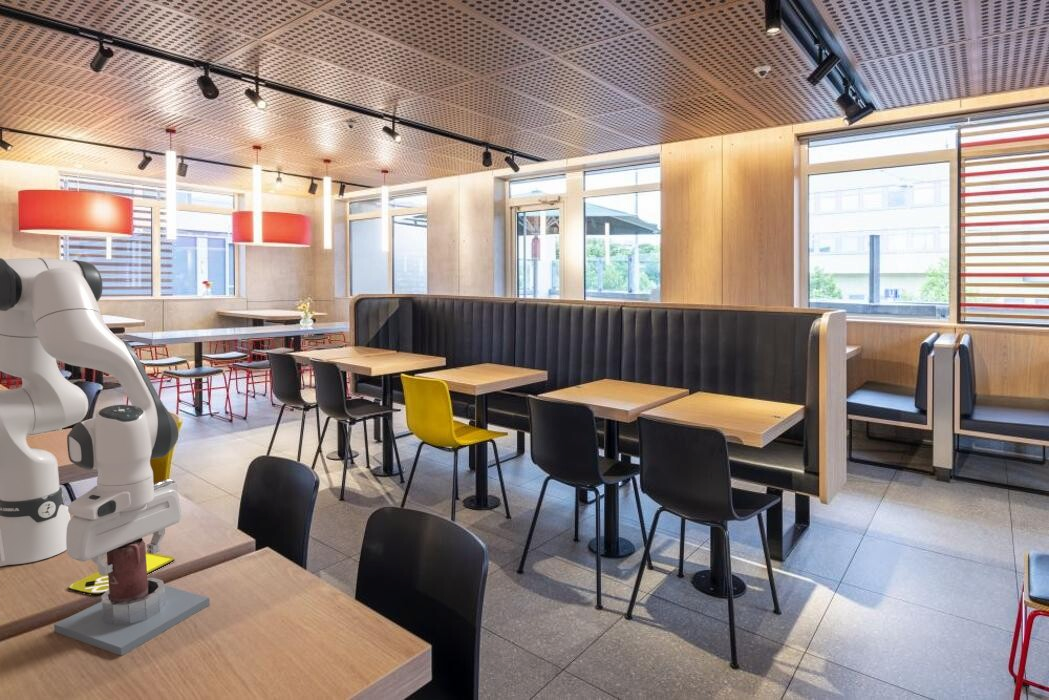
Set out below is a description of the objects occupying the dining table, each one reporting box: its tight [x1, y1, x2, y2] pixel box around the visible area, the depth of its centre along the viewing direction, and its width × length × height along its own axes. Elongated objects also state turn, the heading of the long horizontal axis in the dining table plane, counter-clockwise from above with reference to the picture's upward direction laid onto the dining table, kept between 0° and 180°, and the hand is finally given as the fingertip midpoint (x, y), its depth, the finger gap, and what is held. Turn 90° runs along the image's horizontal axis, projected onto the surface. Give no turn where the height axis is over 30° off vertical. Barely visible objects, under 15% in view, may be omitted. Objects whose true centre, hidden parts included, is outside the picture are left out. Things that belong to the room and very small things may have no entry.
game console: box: [68, 551, 175, 597], centre depth 135 cm, size 18×11×2 cm, turn 163°
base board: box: [53, 584, 211, 657], centre depth 118 cm, size 18×18×2 cm
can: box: [106, 538, 148, 602], centre depth 116 cm, size 6×6×14 cm
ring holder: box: [100, 577, 166, 626], centre depth 118 cm, size 10×10×4 cm
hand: (130, 562), depth 117 cm, fingers open, 8 cm apart
